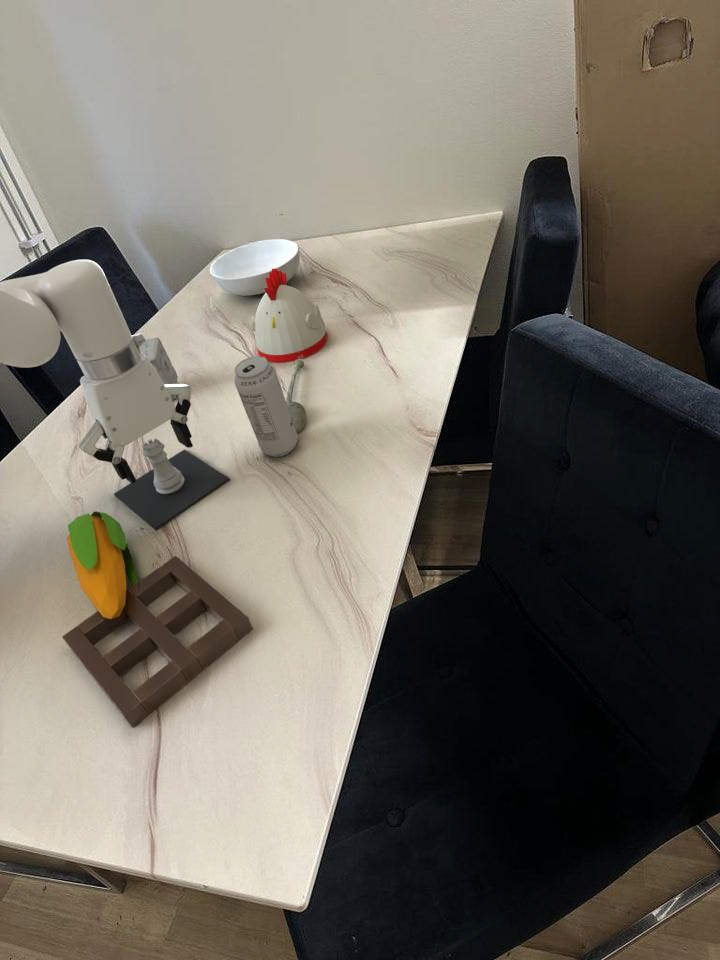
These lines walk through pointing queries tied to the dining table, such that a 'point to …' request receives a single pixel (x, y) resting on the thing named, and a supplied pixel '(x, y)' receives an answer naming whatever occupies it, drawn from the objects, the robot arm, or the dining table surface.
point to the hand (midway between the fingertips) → (158, 461)
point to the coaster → (167, 507)
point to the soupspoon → (294, 407)
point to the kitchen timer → (287, 323)
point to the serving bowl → (254, 265)
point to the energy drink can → (265, 406)
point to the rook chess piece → (162, 468)
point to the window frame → (158, 638)
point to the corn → (102, 561)
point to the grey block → (160, 361)
